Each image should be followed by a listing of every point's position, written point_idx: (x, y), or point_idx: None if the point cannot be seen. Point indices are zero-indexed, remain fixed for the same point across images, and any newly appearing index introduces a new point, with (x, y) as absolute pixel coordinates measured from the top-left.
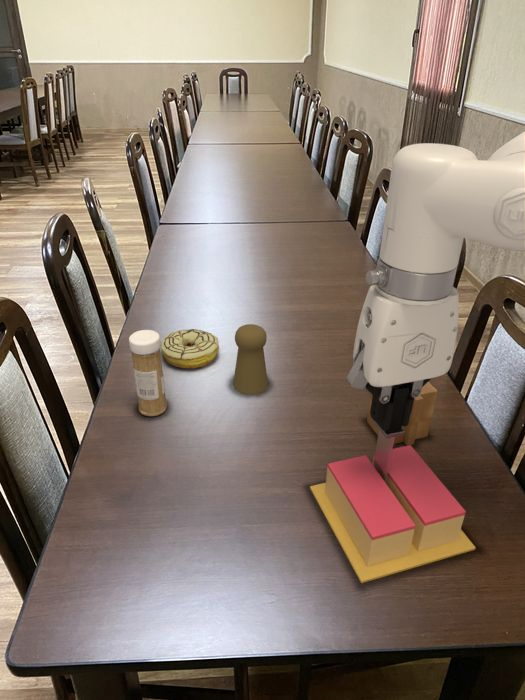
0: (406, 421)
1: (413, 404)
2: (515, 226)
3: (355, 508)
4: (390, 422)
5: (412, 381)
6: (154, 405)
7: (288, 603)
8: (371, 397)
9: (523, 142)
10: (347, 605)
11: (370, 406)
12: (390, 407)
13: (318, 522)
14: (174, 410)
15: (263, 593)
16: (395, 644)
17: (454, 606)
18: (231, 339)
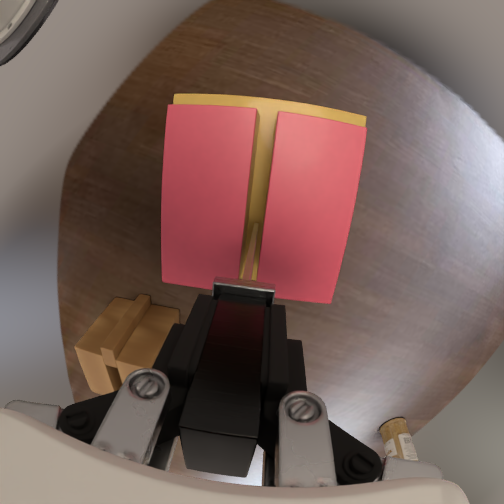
0: (204, 304)
1: (118, 346)
2: None
3: (356, 194)
4: (261, 320)
5: (196, 489)
6: (401, 427)
7: (447, 146)
8: None
9: None
10: (395, 103)
11: None
12: (278, 368)
13: (358, 229)
14: (378, 421)
15: (461, 172)
16: (368, 39)
17: (267, 37)
18: None
